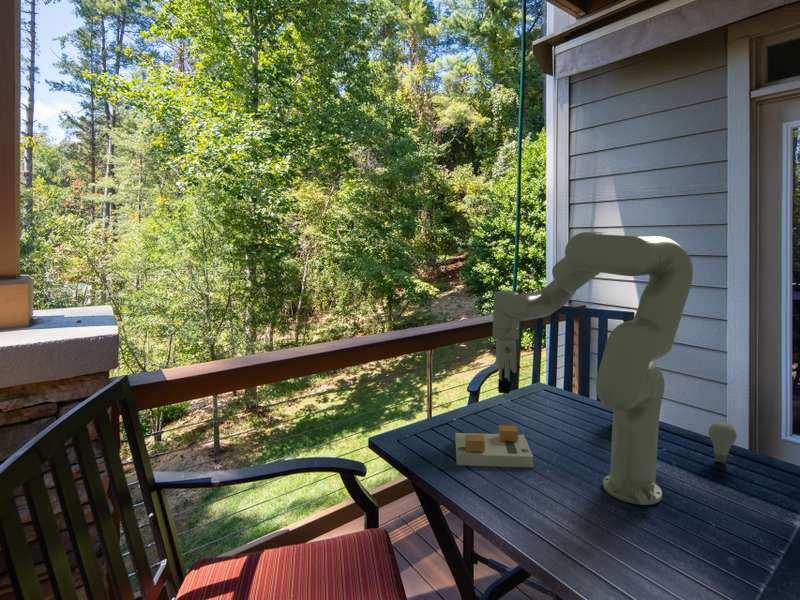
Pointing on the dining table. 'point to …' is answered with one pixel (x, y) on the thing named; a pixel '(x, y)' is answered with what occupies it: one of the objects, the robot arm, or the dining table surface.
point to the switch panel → (494, 452)
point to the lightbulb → (722, 439)
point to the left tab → (475, 443)
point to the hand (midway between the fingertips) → (503, 392)
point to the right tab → (508, 433)
